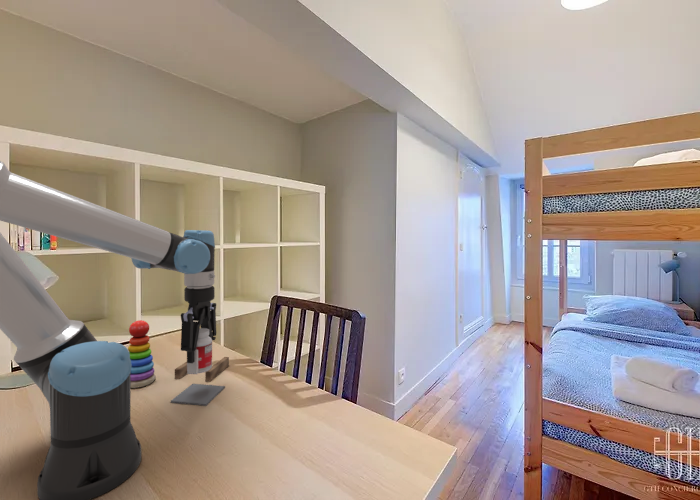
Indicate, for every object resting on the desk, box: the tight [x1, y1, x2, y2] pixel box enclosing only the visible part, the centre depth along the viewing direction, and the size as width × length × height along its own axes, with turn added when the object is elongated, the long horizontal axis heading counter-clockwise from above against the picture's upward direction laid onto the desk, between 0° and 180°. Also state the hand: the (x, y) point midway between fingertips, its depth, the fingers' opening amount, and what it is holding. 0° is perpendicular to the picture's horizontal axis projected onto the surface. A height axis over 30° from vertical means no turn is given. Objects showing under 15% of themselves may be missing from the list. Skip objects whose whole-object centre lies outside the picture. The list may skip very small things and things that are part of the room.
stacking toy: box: [127, 319, 157, 389], centre depth 96 cm, size 8×8×19 cm
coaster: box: [170, 383, 226, 407], centre depth 90 cm, size 10×10×1 cm
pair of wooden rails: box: [174, 356, 230, 383], centre depth 104 cm, size 12×12×3 cm
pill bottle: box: [196, 327, 213, 374], centre depth 89 cm, size 6×6×11 cm
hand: (199, 367), depth 90 cm, fingers closed on pill bottle, 6 cm apart
